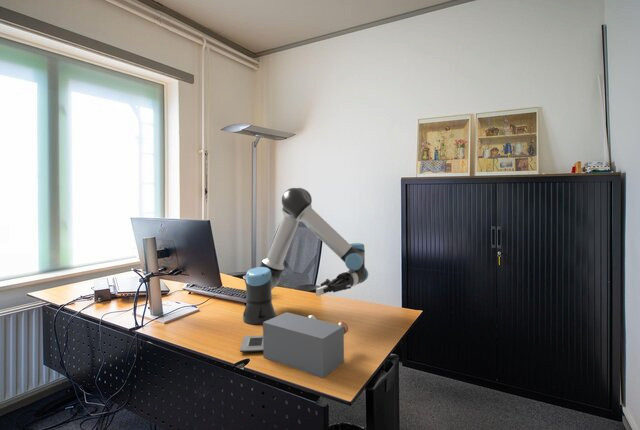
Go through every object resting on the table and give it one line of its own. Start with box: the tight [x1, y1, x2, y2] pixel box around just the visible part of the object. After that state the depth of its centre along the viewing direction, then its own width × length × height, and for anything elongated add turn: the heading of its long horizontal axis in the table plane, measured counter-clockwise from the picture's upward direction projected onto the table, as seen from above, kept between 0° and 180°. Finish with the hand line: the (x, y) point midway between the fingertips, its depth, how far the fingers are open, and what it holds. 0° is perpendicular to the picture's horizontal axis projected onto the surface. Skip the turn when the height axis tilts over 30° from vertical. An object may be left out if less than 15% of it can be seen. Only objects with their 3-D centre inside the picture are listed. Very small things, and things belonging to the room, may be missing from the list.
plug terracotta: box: [336, 321, 349, 335], centre depth 131 cm, size 12×4×4 cm, turn 145°
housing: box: [262, 311, 345, 379], centre depth 127 cm, size 13×26×13 cm, turn 55°
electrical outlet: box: [239, 334, 264, 353], centre depth 139 cm, size 13×10×2 cm
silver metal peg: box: [307, 314, 318, 320], centre depth 139 cm, size 12×4×4 cm, turn 145°
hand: (317, 292), depth 146 cm, fingers closed
